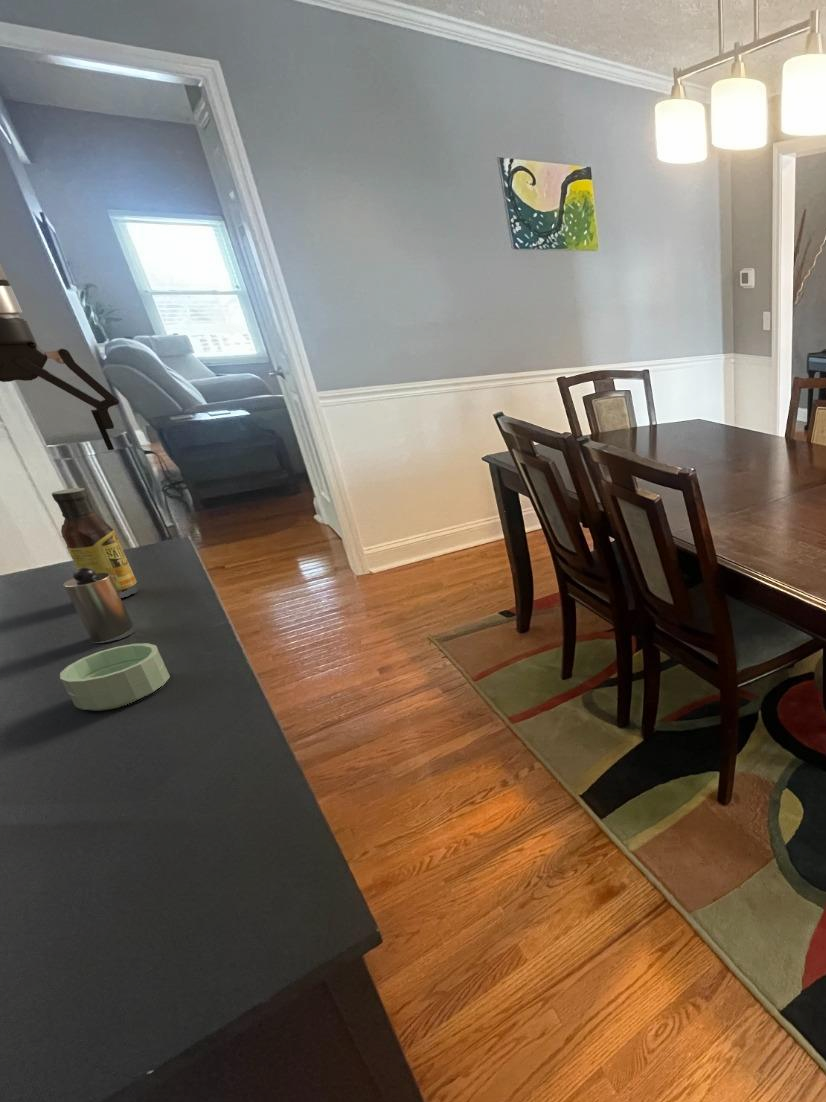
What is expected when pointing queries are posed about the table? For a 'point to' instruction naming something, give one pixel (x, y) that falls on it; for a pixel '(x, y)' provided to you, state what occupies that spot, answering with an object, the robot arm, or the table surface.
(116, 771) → the table surface
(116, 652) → the bowl
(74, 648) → the table surface
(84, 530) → the sauce bottle
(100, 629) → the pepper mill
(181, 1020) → the table surface
